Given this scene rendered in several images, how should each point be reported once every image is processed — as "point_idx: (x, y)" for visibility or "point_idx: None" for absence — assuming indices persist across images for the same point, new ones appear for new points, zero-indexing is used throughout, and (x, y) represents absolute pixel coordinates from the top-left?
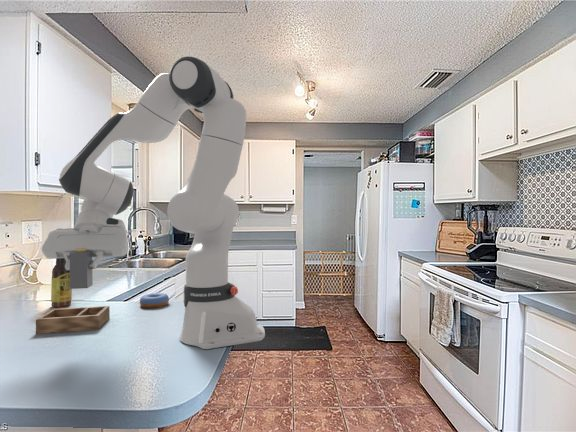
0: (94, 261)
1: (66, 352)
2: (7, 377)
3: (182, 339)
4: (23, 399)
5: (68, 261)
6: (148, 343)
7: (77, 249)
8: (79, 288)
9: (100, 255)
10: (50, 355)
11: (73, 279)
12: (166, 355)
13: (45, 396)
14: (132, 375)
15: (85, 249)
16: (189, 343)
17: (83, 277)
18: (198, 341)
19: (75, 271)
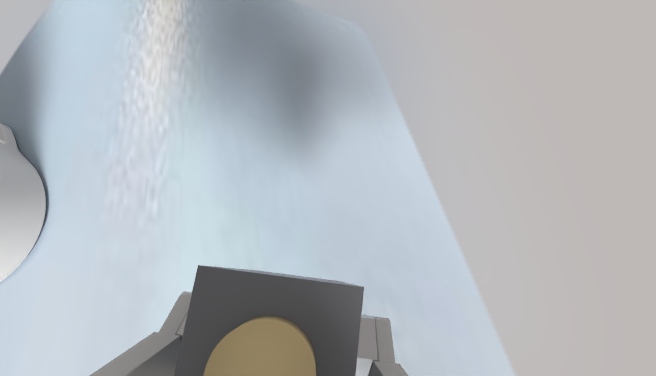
0: (173, 321)
1: (326, 233)
2: (403, 130)
3: (38, 192)
4: (342, 35)
5: (376, 354)
6: (130, 225)
7: (294, 330)
8: (294, 275)
9: (95, 374)
10: (358, 225)
11: (322, 279)
12: (101, 128)
13: (312, 33)
14: (179, 57)
15: (212, 359)
16: (30, 166)
17: (268, 272)
18: (4, 144)
19: (311, 278)
